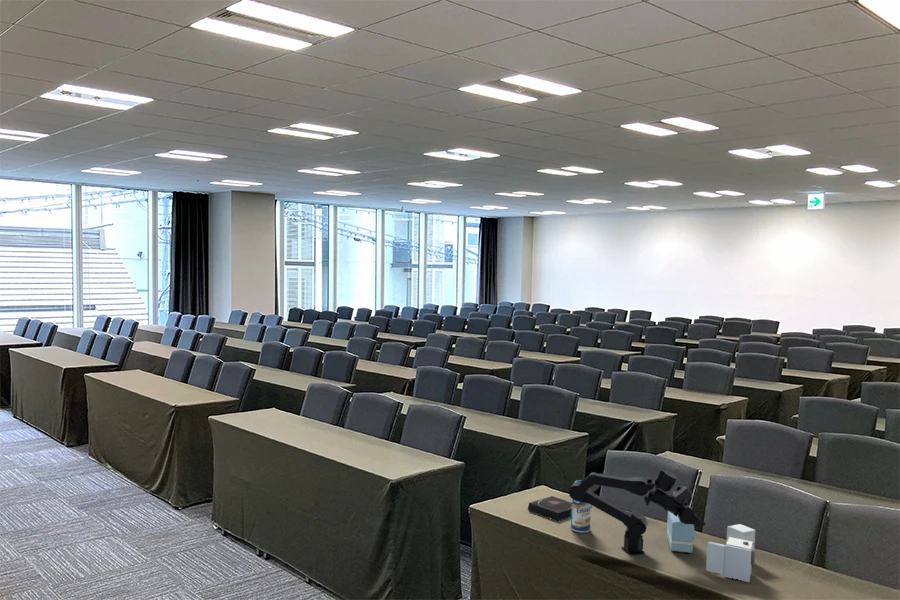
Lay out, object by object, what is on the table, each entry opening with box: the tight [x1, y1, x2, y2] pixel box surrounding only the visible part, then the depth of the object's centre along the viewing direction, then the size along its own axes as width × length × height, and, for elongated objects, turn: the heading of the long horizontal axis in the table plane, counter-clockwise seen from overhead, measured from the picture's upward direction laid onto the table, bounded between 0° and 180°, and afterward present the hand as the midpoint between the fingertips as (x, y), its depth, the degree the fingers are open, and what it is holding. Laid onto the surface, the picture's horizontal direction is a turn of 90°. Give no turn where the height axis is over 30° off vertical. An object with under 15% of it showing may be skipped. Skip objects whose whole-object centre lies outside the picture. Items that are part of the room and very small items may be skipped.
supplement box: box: [725, 523, 756, 551], centre depth 261 cm, size 7×7×13 cm
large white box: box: [723, 537, 756, 583], centre depth 247 cm, size 9×8×13 cm
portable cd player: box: [527, 495, 572, 522], centre depth 308 cm, size 16×17×4 cm
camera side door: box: [705, 541, 752, 583], centre depth 244 cm, size 14×2×11 cm, turn 60°
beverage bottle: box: [570, 479, 593, 534], centre depth 287 cm, size 8×8×20 cm
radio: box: [666, 491, 695, 554], centre depth 273 cm, size 16×9×20 cm, turn 168°
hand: (702, 521), depth 260 cm, fingers open, 9 cm apart
